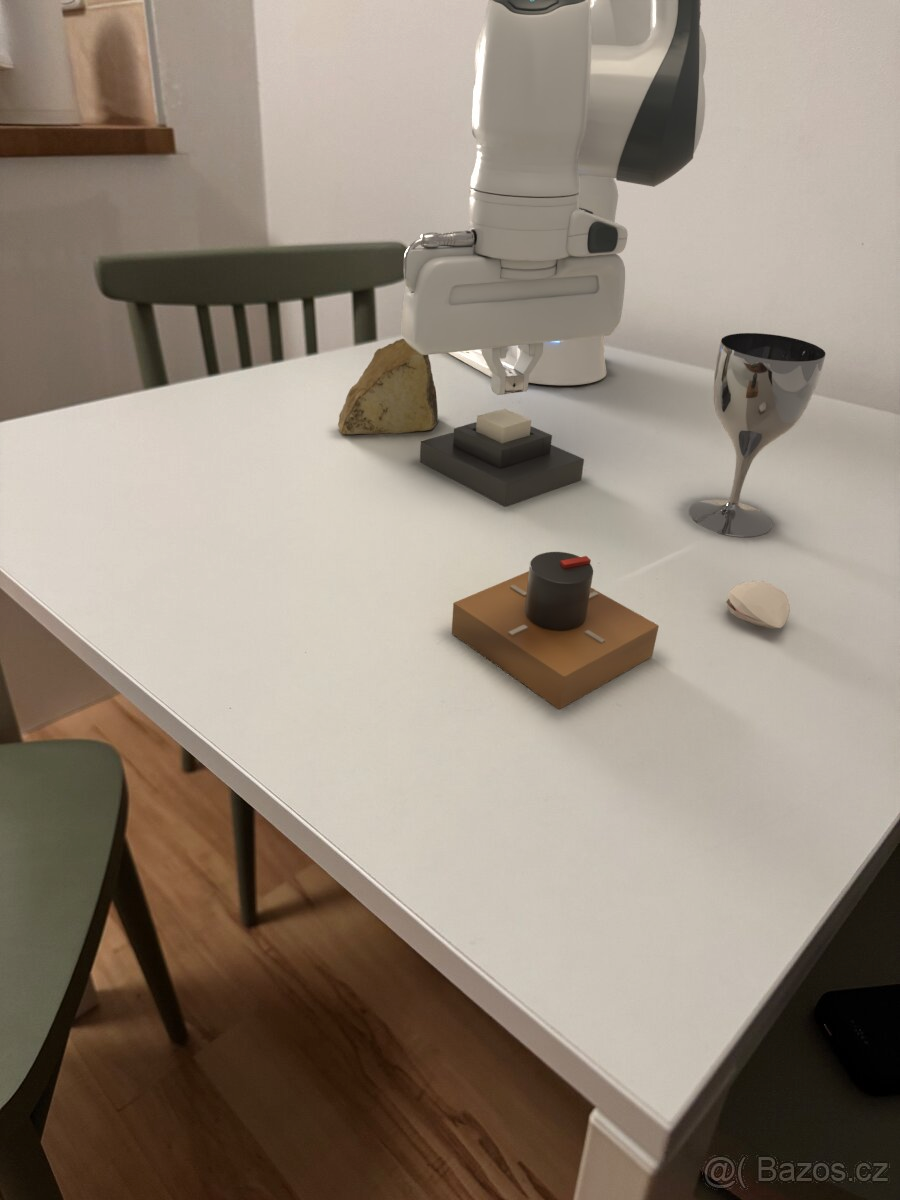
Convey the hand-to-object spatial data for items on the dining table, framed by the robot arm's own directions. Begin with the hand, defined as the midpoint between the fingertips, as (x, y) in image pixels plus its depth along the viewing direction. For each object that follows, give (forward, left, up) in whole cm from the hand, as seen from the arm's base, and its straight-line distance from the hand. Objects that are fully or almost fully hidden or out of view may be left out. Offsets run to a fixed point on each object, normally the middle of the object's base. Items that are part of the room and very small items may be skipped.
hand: (508, 391), depth 77 cm
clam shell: (+30, -4, -8) cm, 31 cm away
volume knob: (+23, -18, -5) cm, 30 cm away
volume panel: (+23, -18, -8) cm, 30 cm away
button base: (0, -1, -8) cm, 8 cm away
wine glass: (+19, +9, -8) cm, 23 cm away
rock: (-15, -3, -8) cm, 17 cm away
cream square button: (0, -1, -4) cm, 4 cm away
